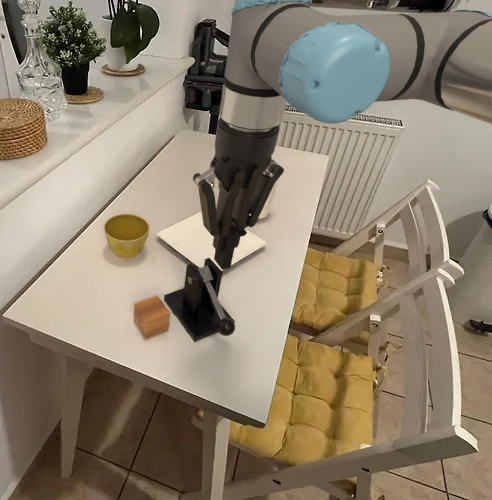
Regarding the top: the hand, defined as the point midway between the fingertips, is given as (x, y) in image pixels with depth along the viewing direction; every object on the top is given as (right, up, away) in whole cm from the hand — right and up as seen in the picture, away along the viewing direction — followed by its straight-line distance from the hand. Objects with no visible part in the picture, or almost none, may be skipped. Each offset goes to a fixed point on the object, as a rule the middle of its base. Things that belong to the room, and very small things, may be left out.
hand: (222, 263), depth 68 cm
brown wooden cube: (-11, -12, +15) cm, 22 cm away
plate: (+4, +3, +34) cm, 35 cm away
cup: (+16, +11, +44) cm, 48 cm away
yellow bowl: (-16, +2, +32) cm, 36 cm away
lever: (0, -8, +11) cm, 14 cm away
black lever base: (-1, -10, +18) cm, 21 cm away
